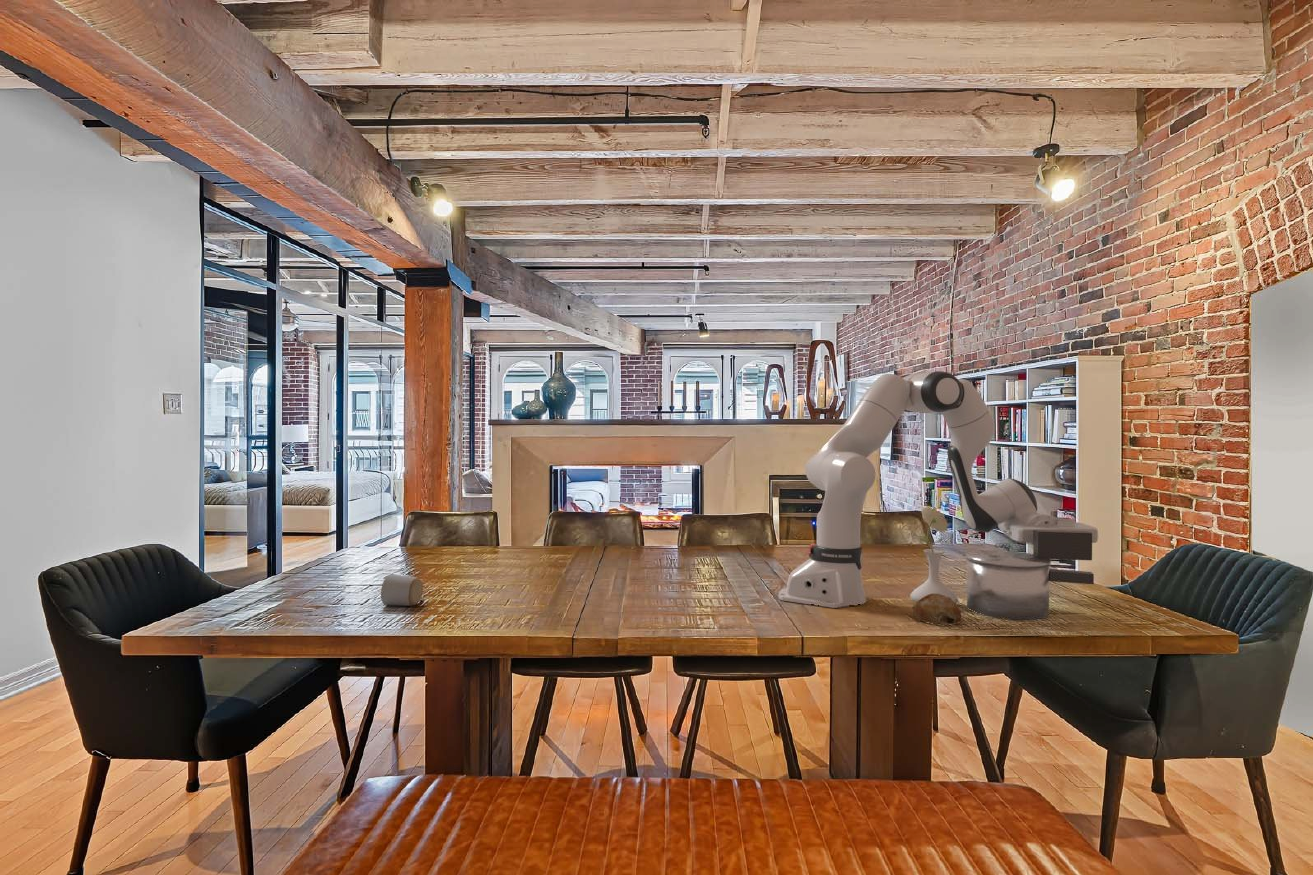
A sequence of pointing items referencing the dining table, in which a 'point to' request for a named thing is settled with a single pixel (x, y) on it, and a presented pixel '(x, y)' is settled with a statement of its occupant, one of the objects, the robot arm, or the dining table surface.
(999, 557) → the cooker lid
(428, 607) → the dining table surface
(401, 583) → the ceramic mug
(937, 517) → the flower in vase
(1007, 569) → the cooker pot
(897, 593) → the dining table surface
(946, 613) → the bread roll
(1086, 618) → the dining table surface
